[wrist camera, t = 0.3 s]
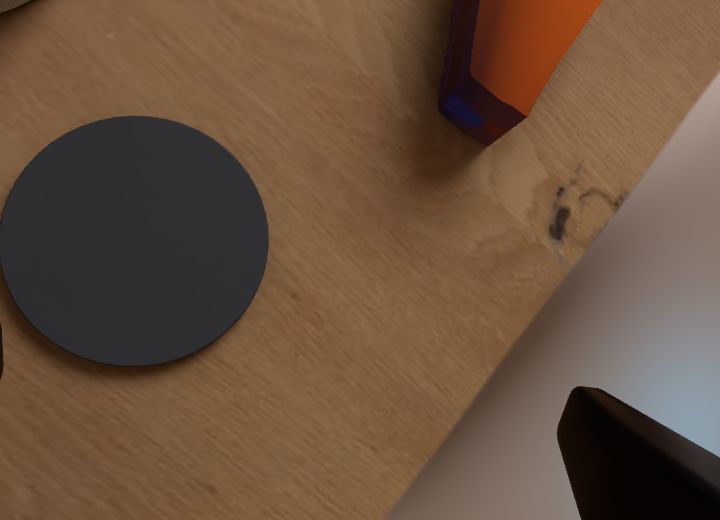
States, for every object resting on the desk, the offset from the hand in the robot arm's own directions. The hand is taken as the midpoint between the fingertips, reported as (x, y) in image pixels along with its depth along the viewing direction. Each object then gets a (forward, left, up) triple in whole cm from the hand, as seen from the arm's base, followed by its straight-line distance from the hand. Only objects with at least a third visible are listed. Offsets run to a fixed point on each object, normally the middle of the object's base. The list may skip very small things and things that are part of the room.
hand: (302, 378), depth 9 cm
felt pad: (+5, +4, -15) cm, 16 cm away
